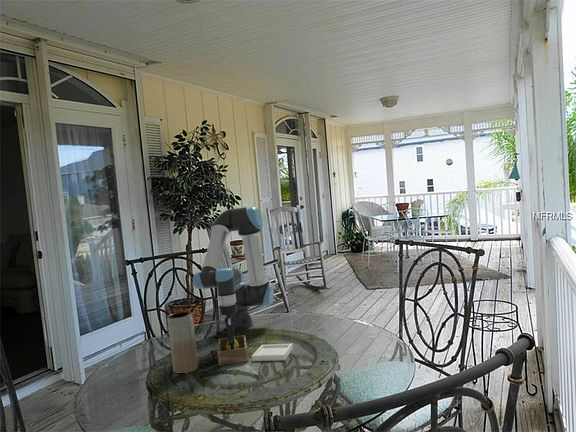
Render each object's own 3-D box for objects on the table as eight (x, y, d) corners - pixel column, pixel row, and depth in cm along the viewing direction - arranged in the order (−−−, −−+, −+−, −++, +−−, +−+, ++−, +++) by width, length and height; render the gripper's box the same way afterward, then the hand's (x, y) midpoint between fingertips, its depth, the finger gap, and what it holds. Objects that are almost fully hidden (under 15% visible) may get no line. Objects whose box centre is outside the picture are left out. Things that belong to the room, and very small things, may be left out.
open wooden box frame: (220, 351, 199) (218, 339, 199) (246, 346, 201) (245, 335, 201) (219, 365, 180) (217, 352, 180) (248, 360, 181) (246, 347, 181)
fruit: (224, 357, 189) (222, 339, 189) (231, 353, 194) (229, 335, 194) (236, 358, 187) (234, 339, 187) (242, 353, 192) (240, 335, 192)
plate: (262, 349, 194) (261, 344, 194) (293, 348, 191) (292, 343, 191) (252, 361, 181) (251, 355, 181) (284, 360, 177) (284, 354, 177)
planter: (171, 368, 182) (165, 314, 182) (195, 363, 186) (189, 310, 186) (175, 376, 173) (168, 319, 173) (200, 370, 177) (194, 314, 177)
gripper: (219, 300, 201) (225, 348, 201) (218, 311, 178) (224, 365, 179) (235, 298, 202) (241, 346, 202) (236, 308, 179) (242, 362, 180)
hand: (233, 355), depth 190 cm, fingers open, 10 cm apart
